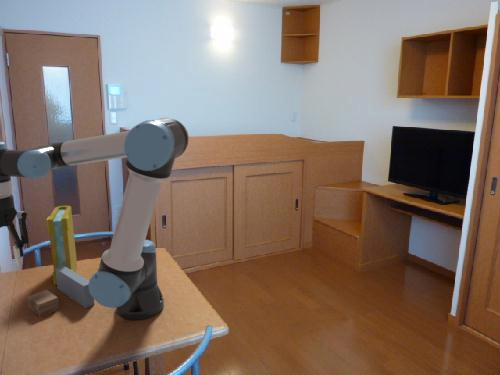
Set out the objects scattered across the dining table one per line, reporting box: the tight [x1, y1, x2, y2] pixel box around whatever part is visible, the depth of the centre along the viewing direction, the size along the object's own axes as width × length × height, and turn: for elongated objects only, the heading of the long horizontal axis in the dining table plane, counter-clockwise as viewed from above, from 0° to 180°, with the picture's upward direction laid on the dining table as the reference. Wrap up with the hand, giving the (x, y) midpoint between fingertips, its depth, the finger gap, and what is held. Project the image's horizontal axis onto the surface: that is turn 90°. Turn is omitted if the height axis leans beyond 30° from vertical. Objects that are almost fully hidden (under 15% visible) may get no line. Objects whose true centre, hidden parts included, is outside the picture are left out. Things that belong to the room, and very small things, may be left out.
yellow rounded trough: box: [45, 205, 78, 286], centre depth 153 cm, size 17×7×25 cm, turn 17°
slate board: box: [55, 265, 95, 309], centre depth 138 cm, size 20×3×8 cm, turn 50°
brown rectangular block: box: [27, 289, 60, 318], centre depth 131 cm, size 8×6×4 cm
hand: (8, 270), depth 121 cm, fingers open, 5 cm apart
